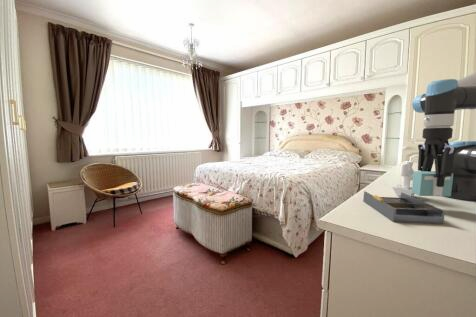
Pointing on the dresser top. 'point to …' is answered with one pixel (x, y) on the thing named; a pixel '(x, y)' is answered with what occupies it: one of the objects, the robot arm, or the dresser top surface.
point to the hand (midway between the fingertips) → (431, 193)
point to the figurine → (405, 179)
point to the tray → (405, 209)
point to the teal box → (429, 183)
